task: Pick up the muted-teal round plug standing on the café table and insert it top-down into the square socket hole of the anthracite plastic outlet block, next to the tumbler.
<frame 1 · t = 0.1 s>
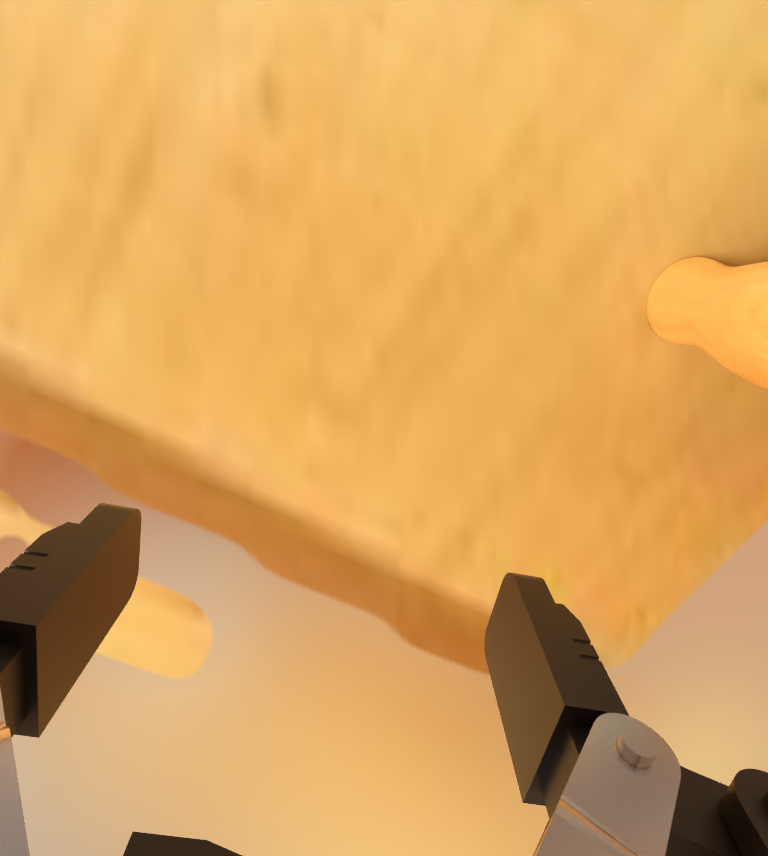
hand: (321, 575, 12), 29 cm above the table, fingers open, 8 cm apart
tumbler: (686, 300, 39), on the table
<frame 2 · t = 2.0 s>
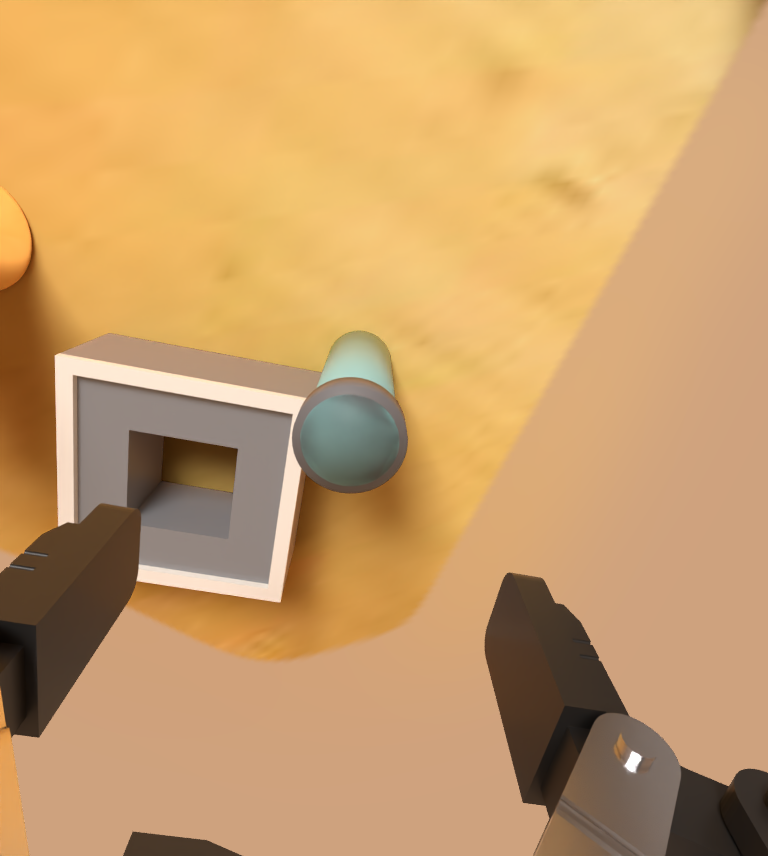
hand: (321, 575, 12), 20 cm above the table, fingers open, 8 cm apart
plug: (359, 362, 31), on the table
socket block: (208, 449, 32), on the table
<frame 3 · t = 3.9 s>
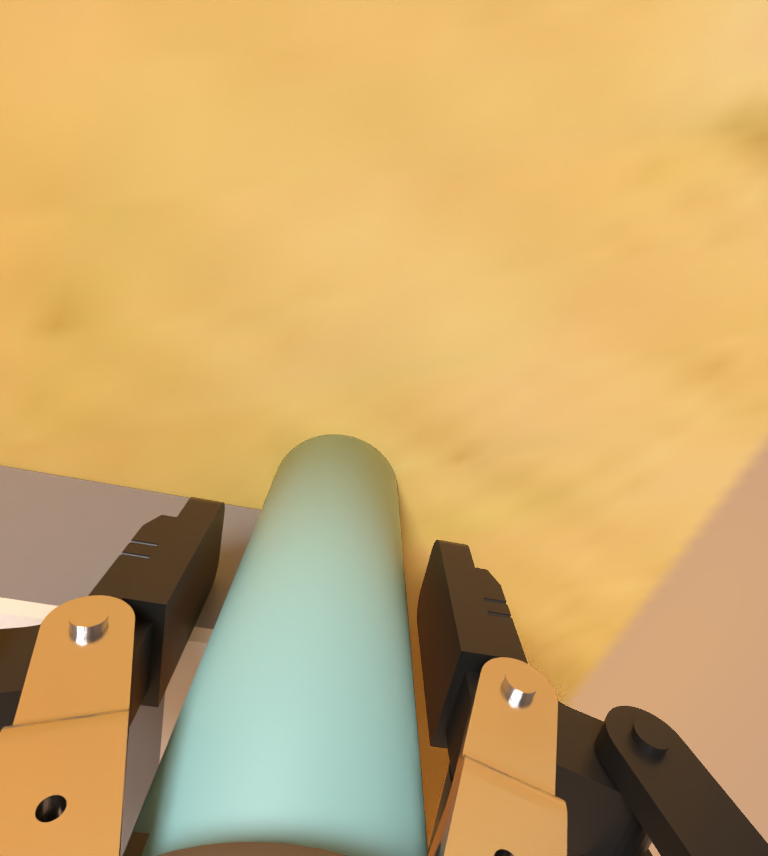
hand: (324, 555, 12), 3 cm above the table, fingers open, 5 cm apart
plug: (335, 492, 16), on the table
socket block: (54, 639, 17), on the table
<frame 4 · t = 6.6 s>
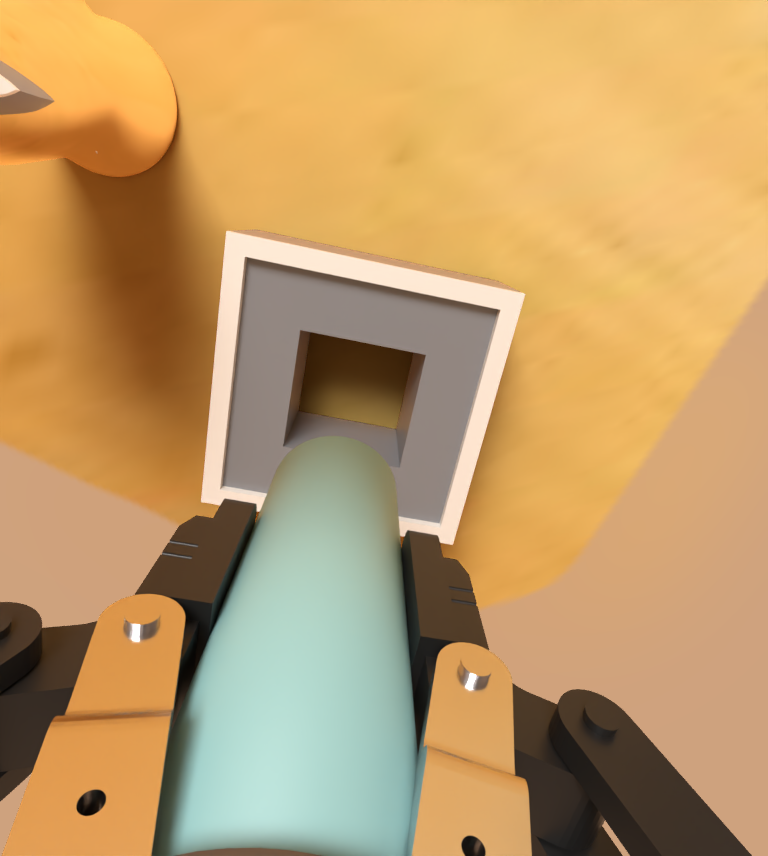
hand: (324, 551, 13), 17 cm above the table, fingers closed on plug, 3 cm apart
plug: (334, 493, 16), point 14 cm above the table, touching gripper
socket block: (356, 372, 28), on the table
tumbler: (111, 103, 24), on the table
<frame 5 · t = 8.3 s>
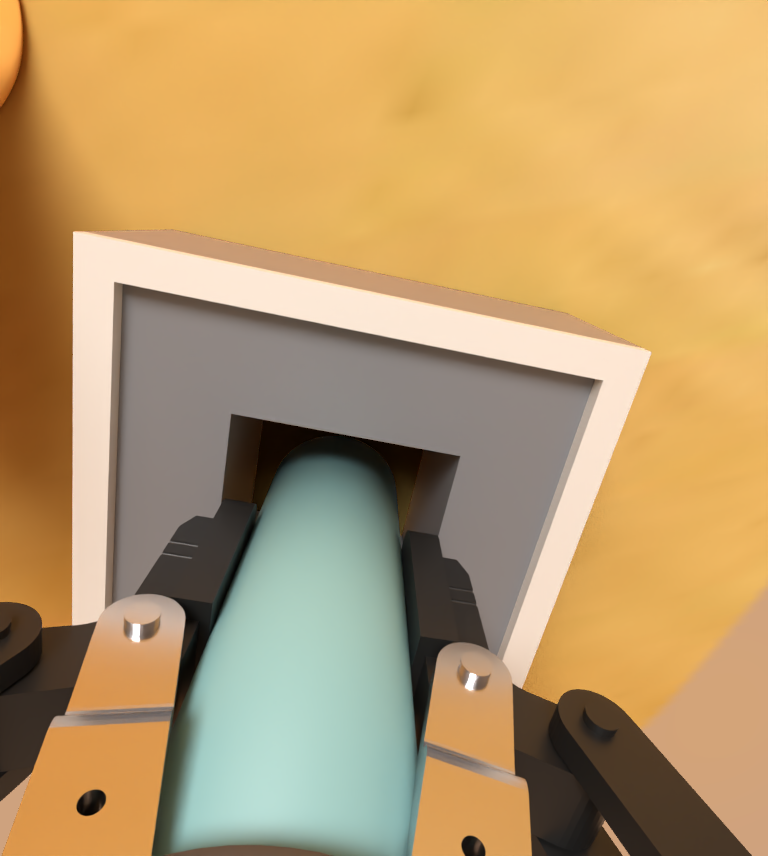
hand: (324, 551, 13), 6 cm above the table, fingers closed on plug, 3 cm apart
plug: (334, 493, 16), point 3 cm above the table, touching gripper
socket block: (340, 454, 18), on the table
when the fingers open (6 cm above the table, at t = 9.2 s): plug drops 3 cm, resting in socket block.
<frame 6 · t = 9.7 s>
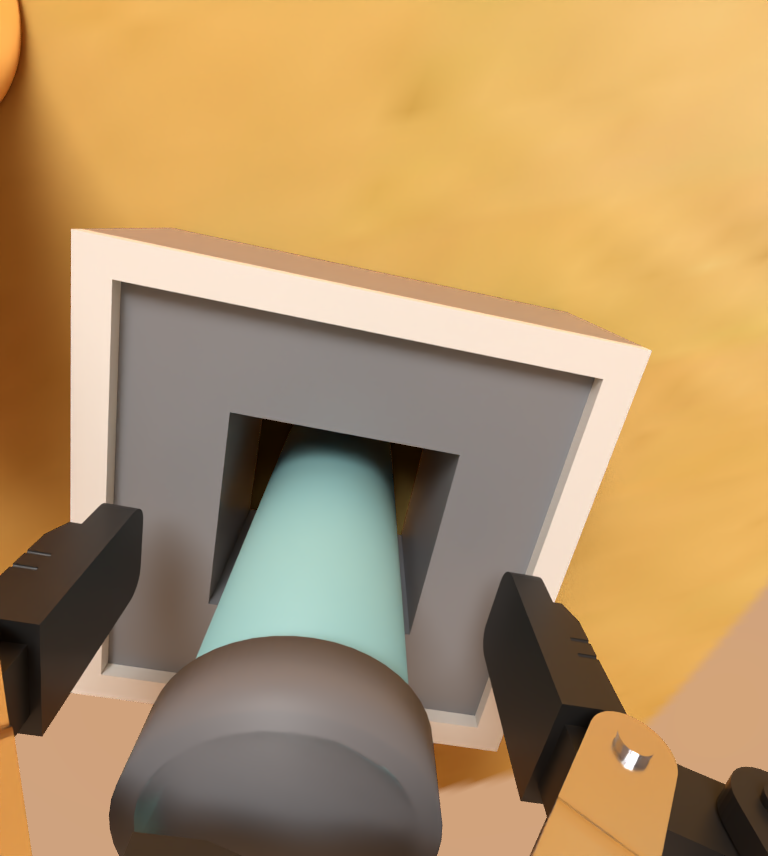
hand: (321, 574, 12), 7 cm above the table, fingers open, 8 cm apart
plug: (338, 455, 18), resting in socket block
socket block: (339, 453, 18), on the table
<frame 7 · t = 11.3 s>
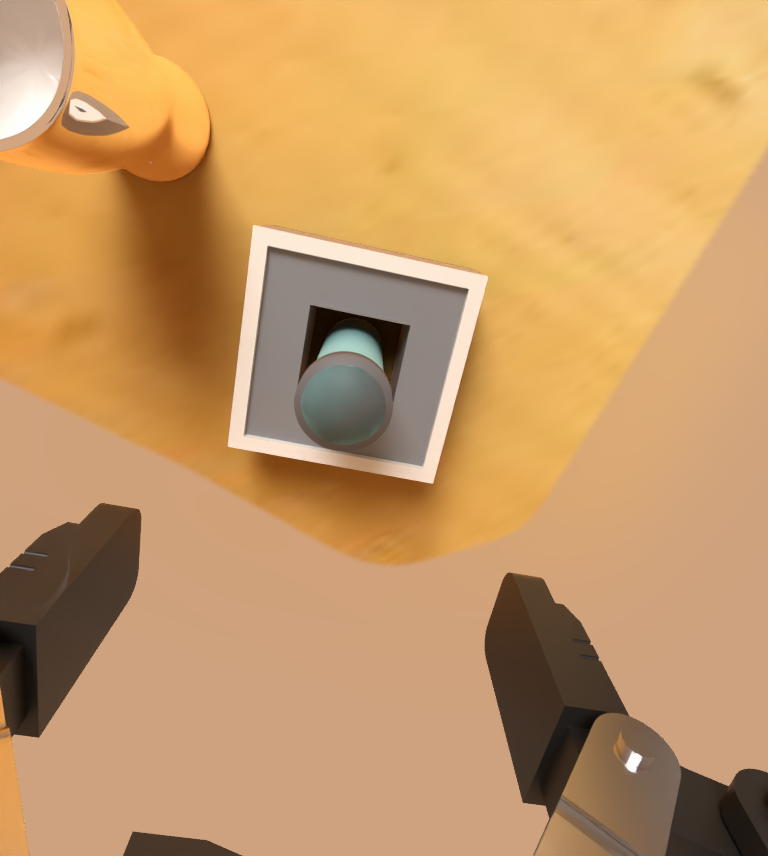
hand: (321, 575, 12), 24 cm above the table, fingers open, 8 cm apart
plug: (353, 346, 34), resting in socket block
socket block: (354, 345, 34), on the table
tumbler: (156, 121, 30), on the table
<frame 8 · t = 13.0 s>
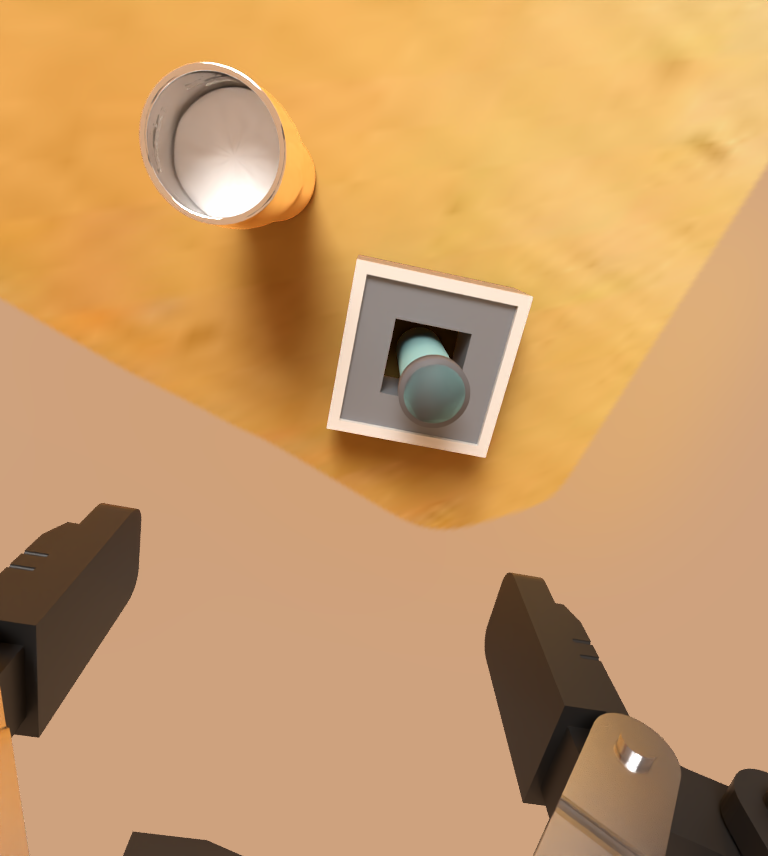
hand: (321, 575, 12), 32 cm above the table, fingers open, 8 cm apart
plug: (418, 349, 43), resting in socket block
socket block: (419, 348, 43), on the table
tumbler: (273, 175, 38), on the table
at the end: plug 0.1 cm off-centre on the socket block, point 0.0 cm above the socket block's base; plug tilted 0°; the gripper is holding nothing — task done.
